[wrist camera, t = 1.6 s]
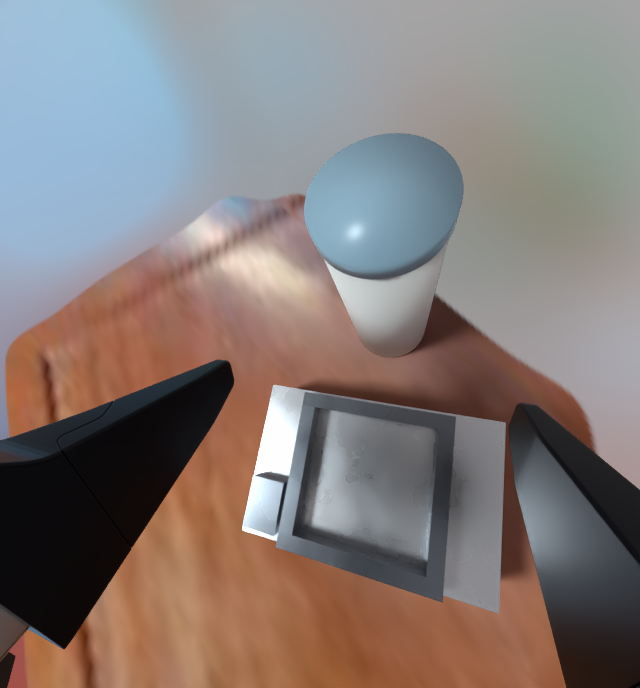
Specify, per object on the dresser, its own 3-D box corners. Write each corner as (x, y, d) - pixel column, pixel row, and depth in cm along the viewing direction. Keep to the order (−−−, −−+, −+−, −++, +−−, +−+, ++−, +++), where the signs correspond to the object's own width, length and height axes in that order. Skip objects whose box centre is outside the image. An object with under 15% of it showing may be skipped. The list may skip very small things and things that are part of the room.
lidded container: (423, 363, 21) (457, 269, 9) (351, 354, 23) (291, 263, 10) (430, 295, 22) (469, 126, 10) (360, 291, 24) (318, 139, 11)
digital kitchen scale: (482, 583, 17) (507, 629, 13) (263, 516, 21) (232, 536, 17) (490, 423, 19) (513, 422, 15) (288, 390, 23) (266, 382, 19)
